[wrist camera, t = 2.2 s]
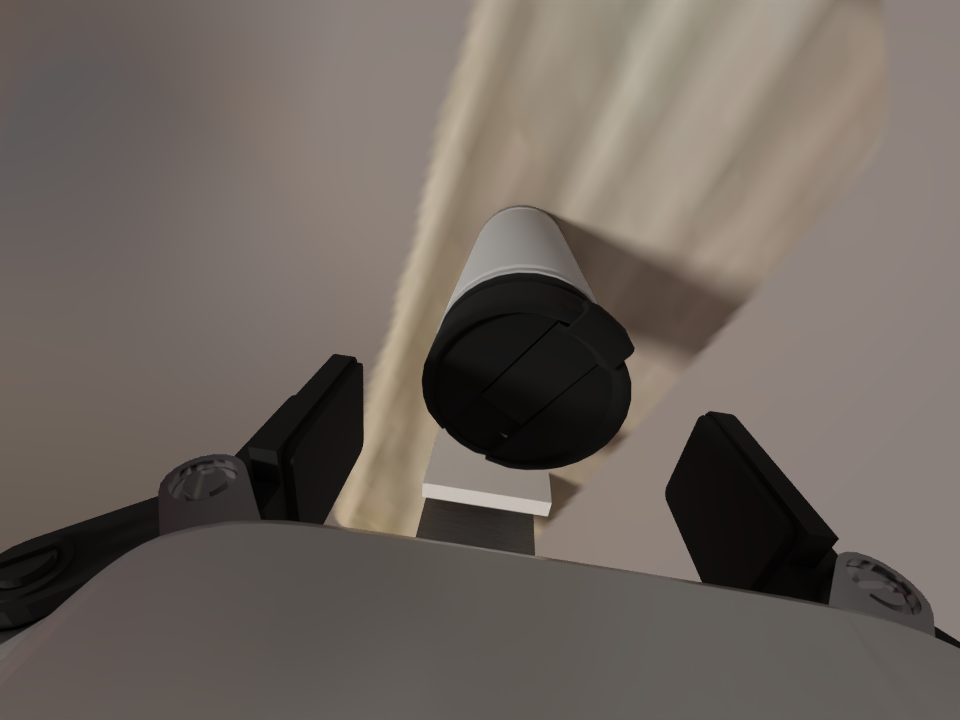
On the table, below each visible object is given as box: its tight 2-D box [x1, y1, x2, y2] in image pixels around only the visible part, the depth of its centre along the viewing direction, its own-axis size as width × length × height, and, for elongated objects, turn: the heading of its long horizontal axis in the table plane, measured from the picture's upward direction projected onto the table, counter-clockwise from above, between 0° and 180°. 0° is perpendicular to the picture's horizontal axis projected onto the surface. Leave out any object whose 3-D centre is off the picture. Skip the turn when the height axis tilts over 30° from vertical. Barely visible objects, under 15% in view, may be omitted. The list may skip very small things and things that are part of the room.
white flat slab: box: [422, 426, 552, 517], centre depth 29 cm, size 1×9×10 cm, turn 83°
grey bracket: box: [416, 497, 535, 556], centre depth 31 cm, size 14×9×14 cm, turn 173°
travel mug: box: [422, 205, 634, 470], centre depth 20 cm, size 6×7×20 cm
